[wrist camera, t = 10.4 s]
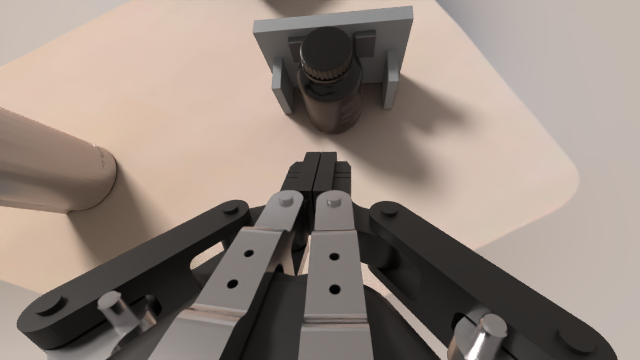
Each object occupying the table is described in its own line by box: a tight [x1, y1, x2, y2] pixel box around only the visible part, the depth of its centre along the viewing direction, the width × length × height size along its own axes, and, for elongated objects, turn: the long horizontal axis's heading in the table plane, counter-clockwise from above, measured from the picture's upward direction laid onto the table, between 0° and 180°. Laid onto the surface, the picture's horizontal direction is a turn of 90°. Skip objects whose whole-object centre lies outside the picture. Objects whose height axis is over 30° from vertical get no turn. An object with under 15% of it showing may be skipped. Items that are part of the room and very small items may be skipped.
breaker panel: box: [253, 6, 413, 114], centre depth 31 cm, size 6×16×10 cm, turn 89°
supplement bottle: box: [297, 26, 363, 134], centre depth 30 cm, size 7×7×12 cm
